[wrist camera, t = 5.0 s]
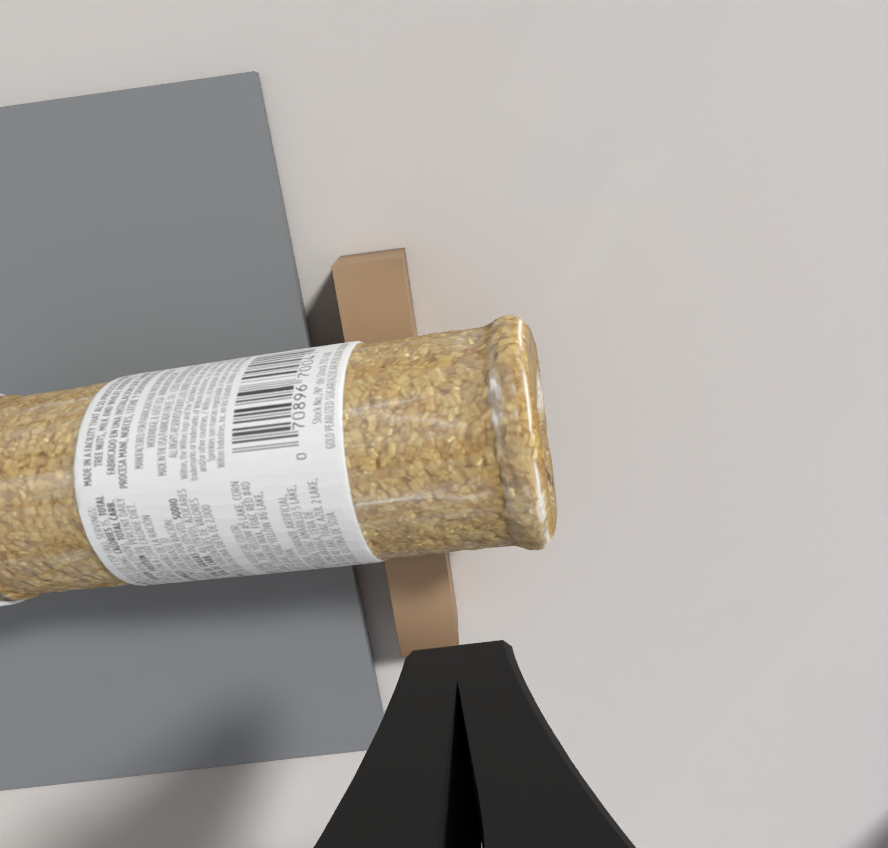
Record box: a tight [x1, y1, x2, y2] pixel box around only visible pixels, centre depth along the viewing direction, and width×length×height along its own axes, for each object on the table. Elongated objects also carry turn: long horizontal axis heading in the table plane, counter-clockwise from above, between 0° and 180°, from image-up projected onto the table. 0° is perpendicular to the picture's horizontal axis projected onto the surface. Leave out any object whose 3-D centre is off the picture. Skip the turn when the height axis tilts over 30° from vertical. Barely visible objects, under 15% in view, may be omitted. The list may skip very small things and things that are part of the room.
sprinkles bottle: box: [0, 315, 557, 606], centre depth 15 cm, size 5×5×14 cm
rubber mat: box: [0, 71, 384, 791], centre depth 19 cm, size 18×13×1 cm
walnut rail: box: [332, 248, 459, 657], centre depth 18 cm, size 10×2×2 cm, turn 7°
